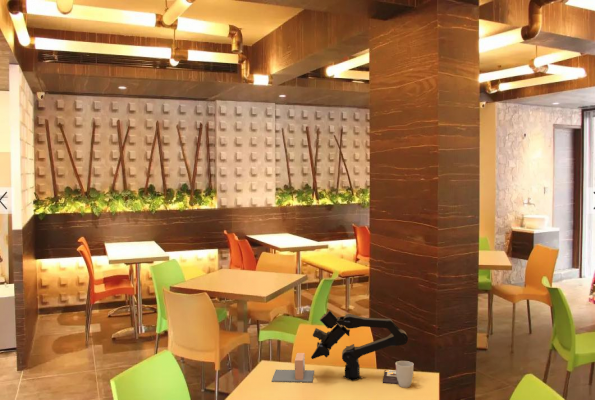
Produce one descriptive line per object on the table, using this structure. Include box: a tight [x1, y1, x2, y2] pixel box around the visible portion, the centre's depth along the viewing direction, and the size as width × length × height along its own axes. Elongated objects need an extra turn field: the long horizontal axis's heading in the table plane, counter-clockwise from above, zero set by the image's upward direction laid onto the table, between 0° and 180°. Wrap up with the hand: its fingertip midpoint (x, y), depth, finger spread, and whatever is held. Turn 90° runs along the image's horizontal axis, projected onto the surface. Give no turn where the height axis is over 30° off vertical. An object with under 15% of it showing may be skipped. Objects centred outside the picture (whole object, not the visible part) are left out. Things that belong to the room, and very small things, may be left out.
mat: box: [271, 369, 315, 384], centre depth 260 cm, size 19×16×1 cm
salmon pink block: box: [294, 352, 306, 380], centre depth 260 cm, size 4×12×9 cm, turn 175°
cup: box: [395, 360, 414, 388], centre depth 247 cm, size 8×8×10 cm
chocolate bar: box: [382, 369, 399, 385], centre depth 258 cm, size 9×1×18 cm
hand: (311, 358), depth 259 cm, fingers closed
